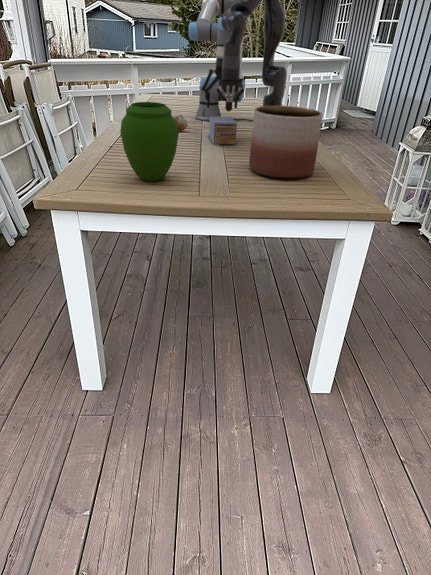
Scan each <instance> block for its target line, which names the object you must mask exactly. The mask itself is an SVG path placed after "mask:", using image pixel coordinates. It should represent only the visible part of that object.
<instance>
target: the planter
mask: <svg viewBox="0 0 431 575" xmlns="http://www.w3.org/2000/svg"><path fill="white" fill-rule="evenodd" d="M323 117H324V114H323V113H322V111H319V110H317V109H312V108H307V107H301V106H291V105H282V106H263V105H262V106H257V107H255V108H254V112H253V119H252V120H253V121H252V132H251V142H250V152H249V162H248V166H249V168H250V169H251V171H254V172H255V173H257V174H258V175H262V176H264V177H268V178H273V179H279V180H280V179H281V180H296V179H302V178H306V177H308V176H310V175H311V174H313V173H314V170H315V167H316V161H317V154H318V149H319V148H318V147H319V141H320V135H321V129H322V123H323Z"/></svg>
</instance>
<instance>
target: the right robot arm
mask: <svg viewBox="0 0 431 575" xmlns="http://www.w3.org/2000/svg"><path fill="white" fill-rule="evenodd" d="M262 1H264V2H263V3H264V4H263V5H264V6H263V10H264V15H263V58H262V69H261V70H262V71H261V81H262V84H263V85H264V86H265V87H270V88H273V89H272V91H271V92H270V93H268V94H265V95H264V96H263V100H262V106H283V99H284V96H285V91H286V84H287V80H288V71H287V68H286V67H285V66H284V65H283V66H282V65H276V64H275V55H276V51H277V49H278V48H279V46H280V43H281V42H282V39H283V37H284V34H285V31H286V30H285V29H286V14H285V10H284V7H283V5H282V3H281V0H239V1H237V2H236V3H235V4H233V5H232V6H231V7H230V8H229V9H227V10H226V12H225V13H224V14H223V16H222V15H221V17H222V20H221V25H222V28H223V29H224V30H225V31H228V32H232V34H231V37H230V38H229V39H226V40H225V42H224V55H223V64H222V81H221V83H220V86H219V87H216V91H217V92H218V94H219V95H220V97H221V99H222V100H223V101H222V102H225V107H224V109H225V111H226V112H231V111H232V110H233V103H235V102H234V101H237V99H238V98H239V97H240V96H241V94H242V93H243V92H244V93H245V89H243V88H241V87H240V83H239V74H240V48H241V42H242V39H243V40H244V36H245V32H246V28H247V22H246V17H247V16H249V15H250V16H251V15H252V14H253V12H254V11H255V10H256V8H257V7H259V5H260V3H261V2H262ZM247 18H248V17H247ZM221 88H222V89H223V91H224V92H225V96H226V98H225V97H224V96H223V94H222V93H221V91H222V90H221ZM237 89H238V93H237V94H236V95H235V97H234V93H235V92H236V91H237ZM229 93H230V98H229ZM233 97H234V98H233Z"/></svg>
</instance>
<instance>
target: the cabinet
mask: <svg viewBox="0 0 431 575" xmlns="http://www.w3.org/2000/svg"><path fill="white" fill-rule="evenodd" d="M233 119H234V118H232V117H231V116H221V117H212V116H210V121H209V128H208V129H209V130H208V137H209V139H210V141H211V142H212V144H213V145H217V144H216V125H233V126H238V123H237V121H236V120H233Z"/></svg>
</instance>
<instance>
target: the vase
mask: <svg viewBox="0 0 431 575" xmlns="http://www.w3.org/2000/svg"><path fill="white" fill-rule="evenodd" d="M125 113H126V114H125V115H124V117H122V119H121V122H120V123H121V124H120V130H119V133H120V138H121V142H122V147H123V150H124V154H125V155H126V158H127V160H128V163H129V165H130V167H131V168H132V170H133V172H134V173H135V175H136V176H137V177H138V178H139V179H141V180H143V181H145V182H159V181H161V180H163V179H164V178H165V176H166V175H167V174H168V173H169V170H170V169H171V167H172V165H173V162H174V159H175V157H176V156H175V155H176V153H177V147H178V140H179V131H178V128H177V123H176V120H175V119H174V116H173V115H172V109H171V108H170V107H169V106H167V105H166V104H164V103H162V102H155V101H138V102H132V103H131V104H130V105H128V107H127V108H125Z"/></svg>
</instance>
